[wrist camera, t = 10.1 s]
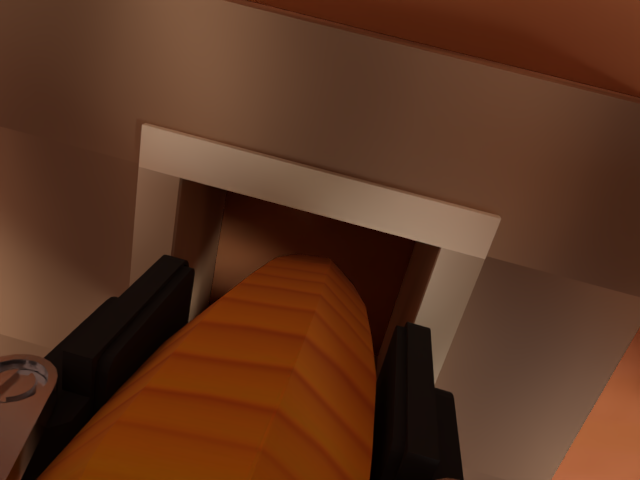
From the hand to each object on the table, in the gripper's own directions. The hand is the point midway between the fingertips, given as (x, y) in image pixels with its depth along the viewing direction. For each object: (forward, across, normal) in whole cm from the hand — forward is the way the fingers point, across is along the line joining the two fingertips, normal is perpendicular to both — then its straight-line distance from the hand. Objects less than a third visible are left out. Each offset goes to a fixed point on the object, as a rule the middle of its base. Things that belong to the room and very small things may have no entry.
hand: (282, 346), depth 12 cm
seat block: (+5, 0, 0) cm, 5 cm away
